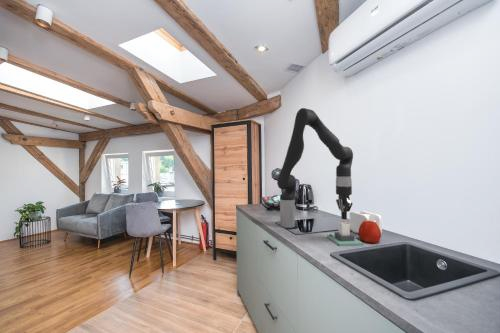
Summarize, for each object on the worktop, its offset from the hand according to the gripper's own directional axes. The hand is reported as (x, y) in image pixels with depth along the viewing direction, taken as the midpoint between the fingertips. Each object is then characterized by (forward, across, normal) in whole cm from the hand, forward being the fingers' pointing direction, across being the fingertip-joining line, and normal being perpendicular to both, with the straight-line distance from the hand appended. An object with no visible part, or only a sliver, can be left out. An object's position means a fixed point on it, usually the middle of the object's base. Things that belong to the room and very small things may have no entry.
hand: (344, 219), depth 113 cm
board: (+11, 0, 0) cm, 11 cm away
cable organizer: (+12, -12, +18) cm, 25 cm away
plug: (+10, 0, 0) cm, 10 cm away
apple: (+12, +1, +13) cm, 17 cm away
